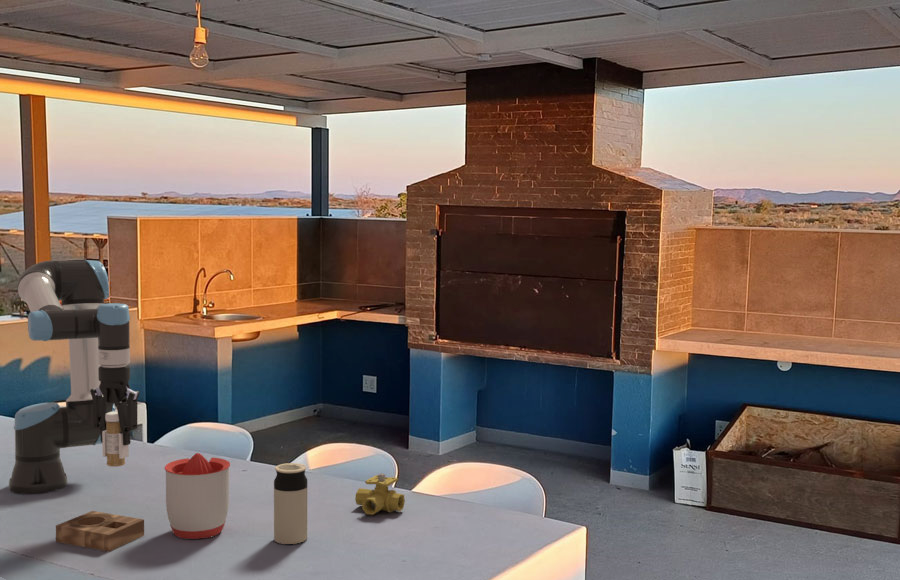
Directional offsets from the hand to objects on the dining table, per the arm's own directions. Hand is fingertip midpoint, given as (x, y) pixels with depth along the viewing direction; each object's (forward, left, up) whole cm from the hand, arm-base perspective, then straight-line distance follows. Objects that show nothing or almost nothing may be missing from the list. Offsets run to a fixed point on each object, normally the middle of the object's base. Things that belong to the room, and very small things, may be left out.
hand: (115, 456), depth 236 cm
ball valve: (+57, +35, -17) cm, 69 cm away
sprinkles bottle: (0, 0, -2) cm, 2 cm away
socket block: (+5, -11, -17) cm, 21 cm away
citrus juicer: (+23, +3, -17) cm, 29 cm away
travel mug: (+47, +7, -17) cm, 51 cm away
